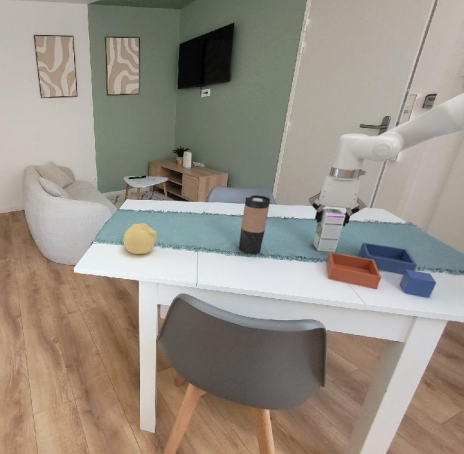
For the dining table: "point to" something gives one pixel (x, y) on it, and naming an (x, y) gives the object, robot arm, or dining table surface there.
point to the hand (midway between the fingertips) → (330, 222)
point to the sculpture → (140, 238)
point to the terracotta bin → (353, 270)
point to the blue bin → (388, 258)
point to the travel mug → (253, 224)
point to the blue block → (417, 283)
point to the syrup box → (328, 230)
